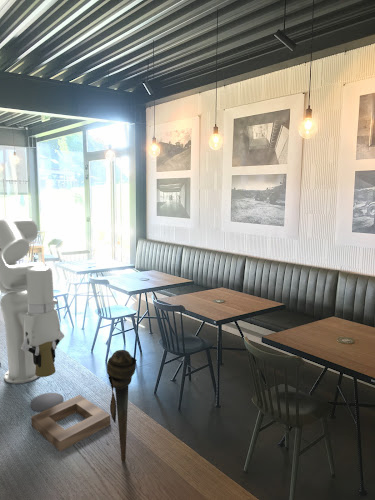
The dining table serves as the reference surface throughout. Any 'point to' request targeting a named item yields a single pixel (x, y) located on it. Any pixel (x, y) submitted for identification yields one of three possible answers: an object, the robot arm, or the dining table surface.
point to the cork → (45, 361)
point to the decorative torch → (120, 391)
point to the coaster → (46, 401)
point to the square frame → (75, 433)
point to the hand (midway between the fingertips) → (44, 362)
